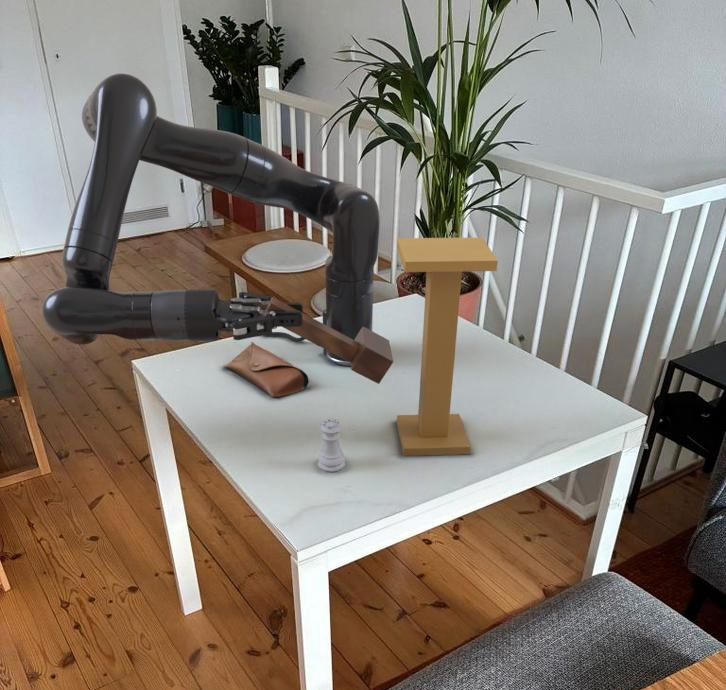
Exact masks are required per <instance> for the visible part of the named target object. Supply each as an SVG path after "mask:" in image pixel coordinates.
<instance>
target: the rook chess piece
mask: <svg viewBox="0 0 726 690" xmlns="http://www.w3.org/2000/svg"><path fill="white" fill-rule="evenodd" d="M319 429H320V431H322V435H321V438H322V449H321V450H320V453H319V454H318V456H317V460H318V461H317V466H318V468H320V469H321V470H322V471H324V472H327V473H335V472H340V471H341V470H342V469H343V468H344V467H345V466H346V461H345V460H346V457H345V453H344V452H343V450H342V449H341V446H340V437H341V434H340V433H339V432H340V431H341V430H342V425H341V424H340V422H339V419H338V420H337V418H332V420H331V418H330V417H328V418H326V419H323V420H322V424H321V425H320V427H319Z"/></svg>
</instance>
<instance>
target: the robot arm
mask: <svg viewBox="0 0 726 690" xmlns="http://www.w3.org/2000/svg"><path fill="white" fill-rule="evenodd" d="M157 111H158V109H157V104H156V101H155V98H154V95H153V93H152V92H151V89H149V87H148V86H147V85H146V84H145V83H144V82H143V81H142V80H141V79H140V78H138V77H136V76H135V75H132V74H128V73H122V72H121V73H115V74H111V75H109V76H107V77H105V78H104V79H102V80H101V81H100V82H99V83H98V84H97V85H96V87H95V88H94V89H93V91H92V92H91V93H90V94H89V96H88V98H87V99H86V102H85V103H84V105H83V107H82V110H81V121H82V125H83V127H84V130H85V132H86V133H87V135H88V137H89V138H90V139H91V140H92V141H93V142H94V145H93V151H92V156H91V159H90V162H89V167H88V169H87V173H86V175H85V179H84V181H83V184H82V187H81V189H80V192H79V195H78V196H77V200H76V202H75V205H74V208H73V211H72V214H71V217H70V220H69V223H68V228H67V232H66V235H65V236H66V237H65V241H64V245H63V250H62V255H61V267H62V269H63V271H64V274H65V285H64V287H60V288H57V289H55V290H53V291H52V292H50V293H49V294H48V295H47V296H46V297H45V298H44V300H43V302H42V305H41V314H42V318H43V320H44V322H45V324H46V325H47V327H48V328H50V329H51V331H53V332H54V333H55V334H57V335H59V336H61V338H63V339H65V340H66V341H68V342H70V343H72V344H75V345H81V346H83V345H84V346H85V345H88V344H91V343H93V342H95V341H96V340H98V339H99V337H100V336H101V335H111V336H116V337H119V338H121V339H125V340H130V341H131V340H133V341H168V342H217V341H219V340H220V338H221V334H222V332H227V333H232V337H233V340H234V341H242V340H245V339H247V340H248V339H252V338H257V337H261V336H268V337H272V336H273V337H284V338H287V339H289V340H291V341H293V342H299V343H300V342H303V341H305V340H306V339H304V338H302V337H301V336H299V337H295V336H293V335H291V334H289V333H287V332H283V331H273V330H276V329H278V328H280V327H281V328H283V327H296V326H302V313H304V311H303V309H304V308H303V304H302V303H301V302H284V303H285V304H287V305H289V306H291V307H293V308H294V309H296V310H298V311H277V314H276V311H267V310H265V309H266V307H267V305H268V303H269V301H270V300H271V298H272V297H273V296H272V295H271V296H270V295H265V294H259V293H253V292H246V291H240V292H238V297H233V298H230V299H223V300H221V299H220V296H219V293H218V291H217V290H216V289H213V288H212V289H207V288H206V289H203V288H202V289H166V290H159V291H158V290H157V291H127V292H122V291H115V290H110V276H111V272H112V268H113V264H114V261H115V255H116V251H117V246H118V242H119V237H120V232H121V228H122V223H123V220H124V215H125V210H126V206H127V202H128V197H129V193H130V190H131V187H132V183H133V180H134V177H135V174H136V172H137V168H138V166H139V162H140V161H141V162H144V163H148V164H151V165H155V166H158V167H162V168H165V169H168V170H171V171H173V172H176V173H178V174H180V175H182V176H185V177H187V178H189V179H192V180H194V181H197V182H199V183H202V184H203V185H204V184H205V185H207V186H210V187H213V188H215V189H216V190H219V191H221V192H224V193H226V194H228V195H230V196H231V195H232V196H234V197H237V198H239V199H242V200H244V201H247V202H250V203H254V204H257V205H262V206H265V207H271V208H280V209H285V210H289V211H292V212H294V213H296V214H298V215H300V216H303V217H305V218H307V219H308V220H311V221H313V222H314V223H317V224H318V225H320V226H321V227H323V228H324V229H326V230H327V231H329V232H330V233H331V234H332V254H331V255H330V256H328V257H327V258H326V260H325V263H324V271H325V272H324V273H325V274H324V275H325V309H323V310H322V323H323V324H325V325H326V326H328V327H330V328H332V329H334V330H336V331H338V332H340V333H342V334H343V335H345V336H347V337H349V338H351V339H353V340H354V339H355V338H356V336H357V335H358V333H359V331H360V330H361V328H362V327H365V328H367V329H369V330H371V331H373V323H374V322H373V321H374V319H373V318H374V312H373V311H374V269H375V268H374V267H375V265H376V263H377V260H378V256H379V255H378V254H379V241H380V223H381V221H380V209H379V205H378V202H377V200H376V199H375V197H374V196H373V195H372V194H370V193H369V192H367V191H366V190H364V189H362V188H360V187H358V186H356V185H354V184H352V183H349V182H346V181H345V182H344V181H340V180H337V179H332V178H330V177H326V176H323V175H320V174H317V173H314V172H311V171H309V170H306V169H304V168H302V167H300V166H298V165H297V164H296V163H294V162H292V161H291V160H289V159H288V158H287V157H285V156H283V155H282V154H280V153H278V152H276V151H274V150H273V149H271V148H269V147H267V146H265V145H263V144H261V143H259V142H256V141H254V140H251V139H249V138H247V137H245V136H242V135H240V134H237V133H234V132H230V131H225V130H219V129H213V128H205V127H196V126H188V125H183V124H178V123H176V122H172V121H170V120H168V119H165V118H163V117H160V115H157V114H158V112H157ZM316 346H317V347H319V346H318V345H316ZM322 350H323V355H324V356H326V359H327V360H328V361H329V362H331V363H333V364H336V365H339V366H347V367H351V362H349V361H347V360H345V359H343V358H341V357H339V356H337V355H335V354H333V353H331V352H329V351H328V350H326V349H324V348H322Z"/></svg>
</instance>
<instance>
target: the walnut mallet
mask: <svg viewBox="0 0 726 690" xmlns="http://www.w3.org/2000/svg"><path fill="white" fill-rule="evenodd" d="M271 297H272V298H271V300H270V301H269V303H268V305H267V307H266V309H265V310H267V311H276V314H277V311H298V310H296V309H294V308H293V307H291V306H289V305H287V304H285V303H286V302H283V301H281V300H280V299H278V298H275V297H274V296H271ZM282 328H283V329H285V330H287V331H289V332H291V333H293V334H295V335H296V336H299V337H302V338H304V339H305V340H307V341H308V342H310V343H312V344H314V345H316V346H317V345H318V346H317V347H320V348H322V349H323V348H324V349H326V350H328V351H329V352H331V353H333V354H335V355H337V356H339V357H341V358H343V359H345V360H347V361H349V362H351V366H350V369H351V371H352V372H354V373H356V374H358V375H360V376H362V377H364V378H366V379H368V380H370V381H372V382H374V383H375V384H378V385H380V383H381V382H382V380H383V379H384V377H385V375H386V374H387V373H388V371H389V370H390V368H391V367H392V365H393V364H394V363H395V362H394V357H393V352H392V348H391V343H390V340H389V339H388V338H386V337H384V336H382V335H380V334H378V333H377V332H375V331H373V330H372V331H371V330H369V329H367V328H365V327H362V328H361V330H360V331H359V333H358V335H357V336H356V338H355V339H354V340H353V339H351V338H349V337H347V336H345V335H343V334H342V333H340V332H338V331H336V330H334V329H332V328H330V327H328V326H326V325H325V324H323V322H321V321H319V320H317V319H315V318H313V317H311V316H309V315H307V314H306V313H304V312H303V313H302V326H296V327H282Z"/></svg>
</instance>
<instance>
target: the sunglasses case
mask: <svg viewBox="0 0 726 690" xmlns="http://www.w3.org/2000/svg"><path fill="white" fill-rule="evenodd" d="M250 343H251V344H250V345H248V346H247V347H246V348H244V349H243V350H242V351H241V352H240V353H239V354H238V355H237V356H235V357H234V358H233V359H232V360H231V361H230V362H229V363H227V365H223V368H224V369H226V370H229V371H231V372H233V373H234V374H236V375H238V376H240V377H241V378H243V379H244V380H246V381H247V382H249V383H250V384H252V385H253V386H255V387H256V388H258V390H260V391H262V392H264V394H266V395H268V396H270V397H272V398H280V397H286V396H289V395H293V394H295V393H298V392H301V391H305V389H306V388H307V387H308V385H309V382H310V381H309V376H308V374H307V373H306V372H305V371H304V370H302V368H299V367H297V366H295V365H293V364H292V363H290V362H288V361H286V360H284V359H283V358H282V357H279V356H277V355H276V354H274V353H272V352H270V351H268V350H266V349H264V348H263V347H261V346H259V345H257V344H255V342H253V341H250Z"/></svg>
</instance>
